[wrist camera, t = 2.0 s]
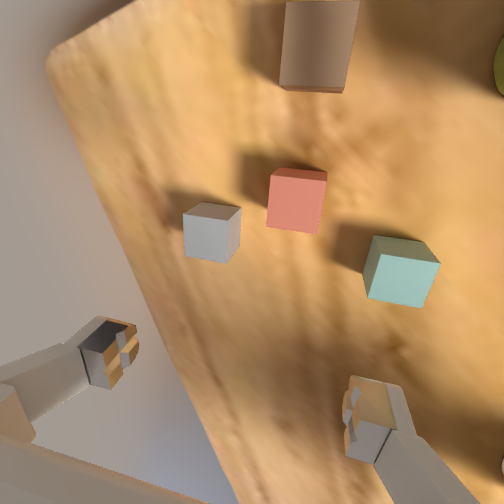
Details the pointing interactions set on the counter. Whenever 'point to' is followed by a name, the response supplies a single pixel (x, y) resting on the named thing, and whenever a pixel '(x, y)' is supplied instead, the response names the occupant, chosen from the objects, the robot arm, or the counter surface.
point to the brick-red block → (296, 199)
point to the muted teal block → (399, 271)
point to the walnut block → (317, 45)
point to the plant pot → (499, 67)
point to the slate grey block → (212, 231)
